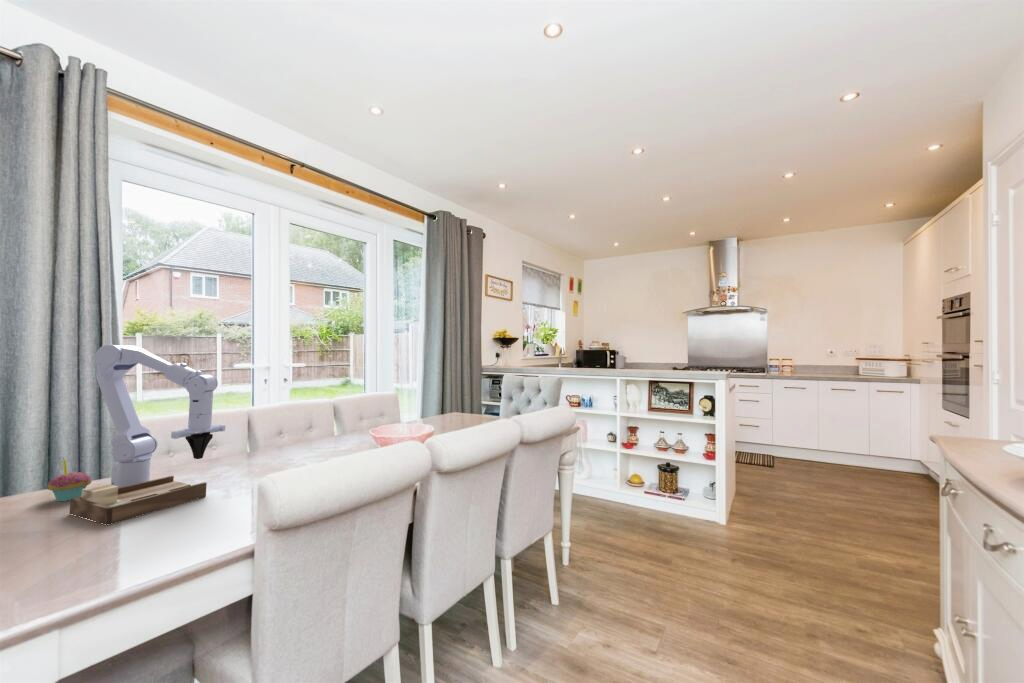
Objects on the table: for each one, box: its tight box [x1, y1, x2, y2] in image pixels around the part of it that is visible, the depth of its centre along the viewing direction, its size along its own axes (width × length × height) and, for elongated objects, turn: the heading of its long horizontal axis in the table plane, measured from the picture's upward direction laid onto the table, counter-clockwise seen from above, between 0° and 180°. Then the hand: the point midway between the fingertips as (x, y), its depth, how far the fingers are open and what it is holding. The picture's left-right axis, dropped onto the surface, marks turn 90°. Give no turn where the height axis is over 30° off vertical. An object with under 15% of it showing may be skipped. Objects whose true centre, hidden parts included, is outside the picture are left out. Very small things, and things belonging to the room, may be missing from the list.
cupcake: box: [47, 457, 93, 502], centre depth 117 cm, size 9×8×12 cm
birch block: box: [82, 483, 118, 505], centre depth 108 cm, size 5×5×4 cm
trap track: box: [69, 475, 208, 526], centre depth 114 cm, size 16×23×4 cm
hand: (198, 458), depth 128 cm, fingers closed
